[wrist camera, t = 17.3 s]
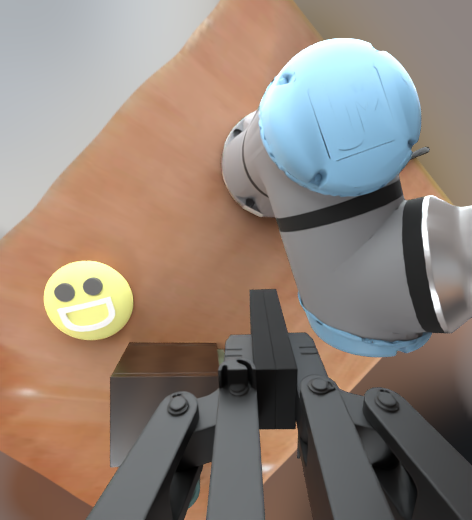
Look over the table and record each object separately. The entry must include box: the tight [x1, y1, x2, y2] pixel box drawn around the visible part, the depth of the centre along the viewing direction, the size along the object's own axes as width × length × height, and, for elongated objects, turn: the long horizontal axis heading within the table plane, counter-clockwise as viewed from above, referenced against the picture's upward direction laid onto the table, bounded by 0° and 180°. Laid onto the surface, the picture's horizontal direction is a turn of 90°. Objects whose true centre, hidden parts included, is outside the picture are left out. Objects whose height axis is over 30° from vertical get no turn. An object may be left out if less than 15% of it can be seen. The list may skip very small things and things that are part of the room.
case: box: [110, 343, 219, 467], centre depth 41 cm, size 14×13×10 cm
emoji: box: [44, 261, 133, 340], centre depth 40 cm, size 4×12×12 cm
